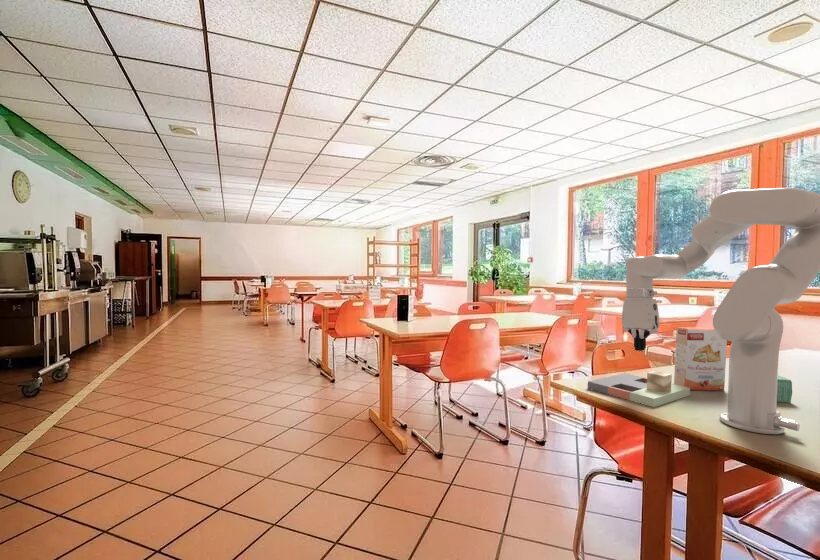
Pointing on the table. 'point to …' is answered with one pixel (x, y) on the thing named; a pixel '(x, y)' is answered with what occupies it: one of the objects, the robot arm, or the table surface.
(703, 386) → the cracker box
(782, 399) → the box
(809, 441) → the table surface
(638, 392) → the platform
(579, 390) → the table surface
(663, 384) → the block
